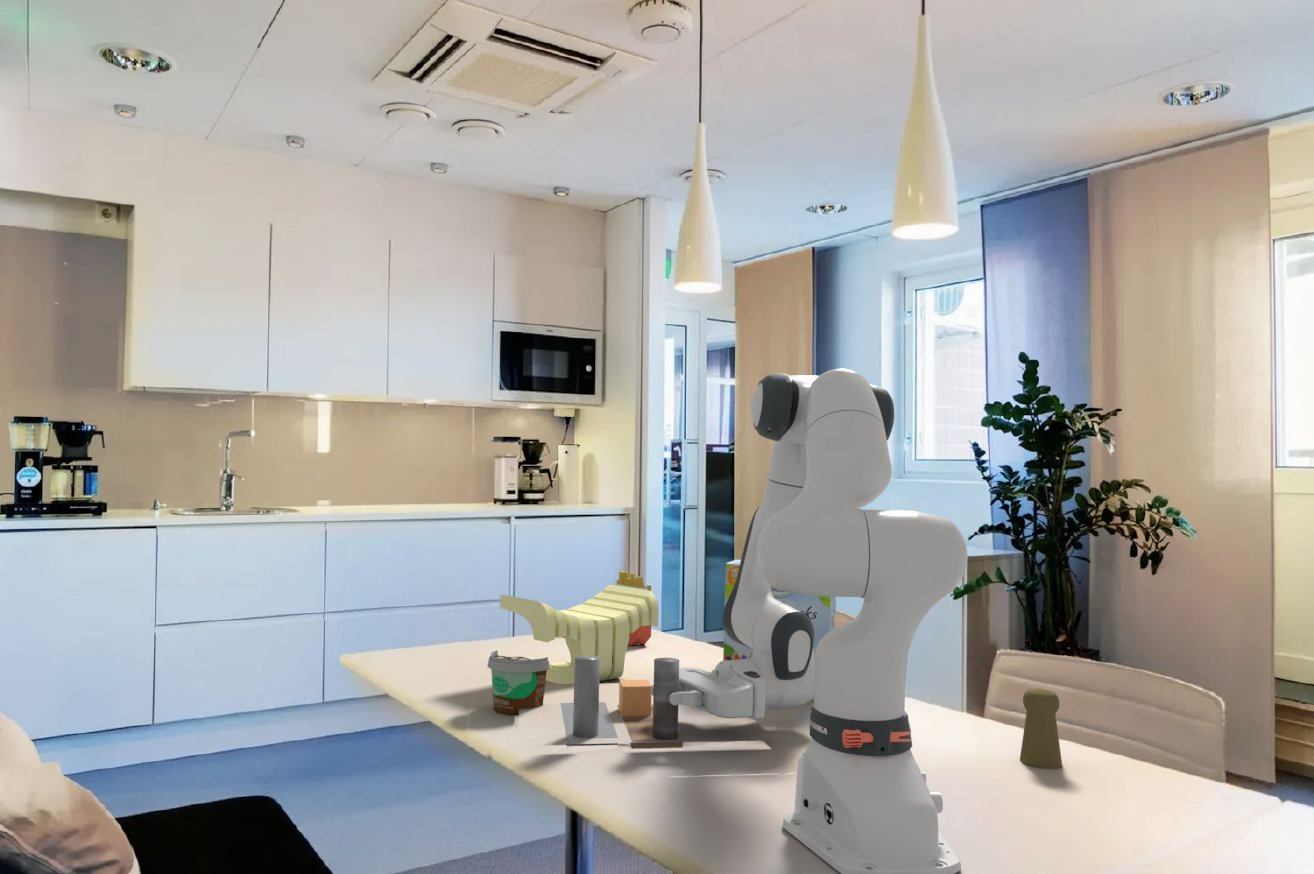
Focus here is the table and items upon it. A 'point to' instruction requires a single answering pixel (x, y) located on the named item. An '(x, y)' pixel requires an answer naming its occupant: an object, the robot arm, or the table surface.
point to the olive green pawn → (1041, 730)
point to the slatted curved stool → (590, 627)
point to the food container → (517, 683)
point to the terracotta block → (635, 698)
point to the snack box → (814, 607)
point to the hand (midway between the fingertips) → (661, 694)
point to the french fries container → (642, 632)
